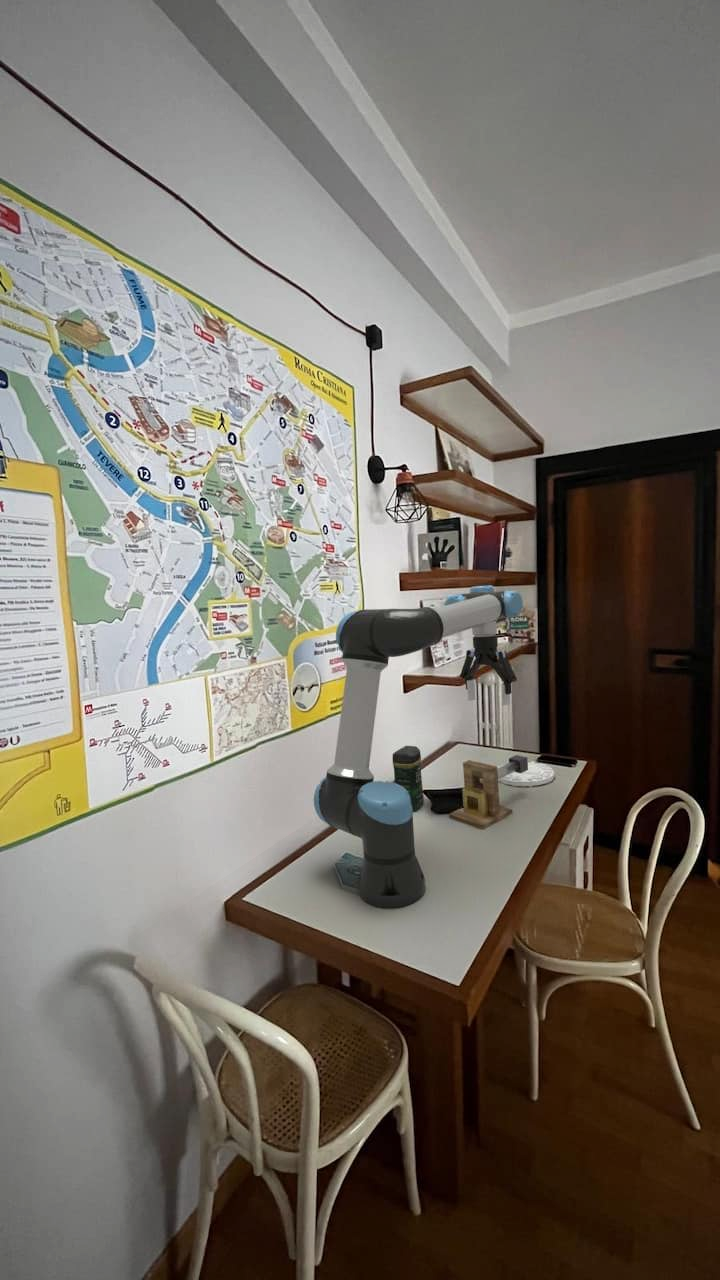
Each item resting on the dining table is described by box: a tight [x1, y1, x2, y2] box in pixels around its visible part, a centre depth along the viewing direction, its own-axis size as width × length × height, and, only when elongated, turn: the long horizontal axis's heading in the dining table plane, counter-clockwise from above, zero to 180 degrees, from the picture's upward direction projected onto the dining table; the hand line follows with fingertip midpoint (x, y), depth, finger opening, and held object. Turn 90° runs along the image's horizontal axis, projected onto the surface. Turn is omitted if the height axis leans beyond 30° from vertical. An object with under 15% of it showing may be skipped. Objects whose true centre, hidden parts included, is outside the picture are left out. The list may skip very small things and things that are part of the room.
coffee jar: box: [392, 745, 425, 812], centre depth 167 cm, size 10×8×19 cm
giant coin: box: [497, 761, 556, 788], centre depth 185 cm, size 20×20×3 cm
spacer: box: [461, 787, 489, 819], centre depth 155 cm, size 2×7×7 cm, turn 40°
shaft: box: [477, 754, 529, 787], centre depth 163 cm, size 21×4×4 cm, turn 130°
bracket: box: [448, 759, 513, 830], centre depth 156 cm, size 14×12×15 cm
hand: (488, 702), depth 170 cm, fingers open, 13 cm apart
